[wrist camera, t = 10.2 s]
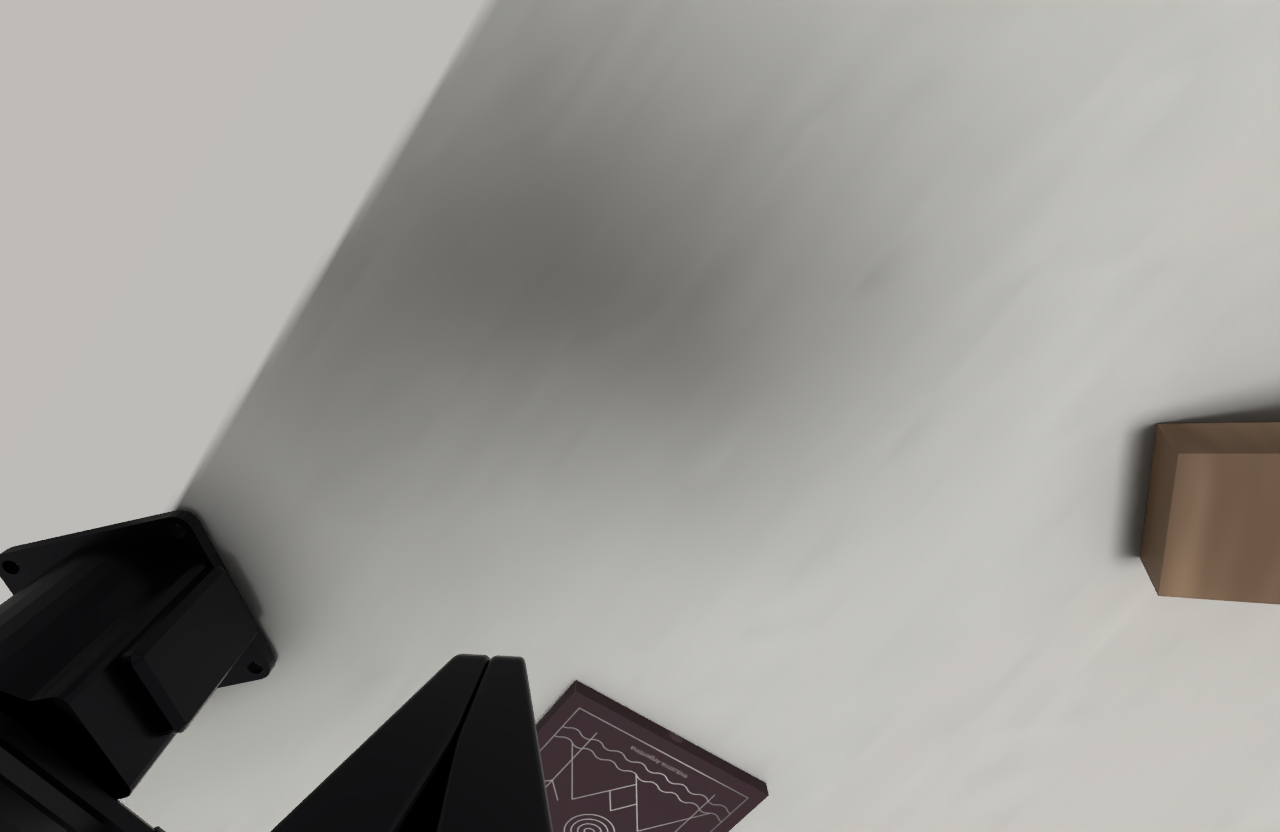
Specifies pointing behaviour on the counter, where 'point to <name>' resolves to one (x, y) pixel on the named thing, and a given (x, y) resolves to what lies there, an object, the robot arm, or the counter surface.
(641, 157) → the counter surface
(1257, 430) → the domino
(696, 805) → the chocolate bar
